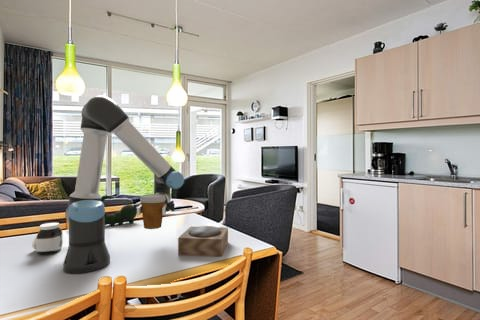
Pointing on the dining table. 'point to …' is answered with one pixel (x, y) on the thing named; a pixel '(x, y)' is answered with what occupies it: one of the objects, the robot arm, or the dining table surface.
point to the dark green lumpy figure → (120, 214)
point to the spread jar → (48, 239)
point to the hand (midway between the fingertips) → (150, 211)
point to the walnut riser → (203, 241)
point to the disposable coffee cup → (152, 210)
